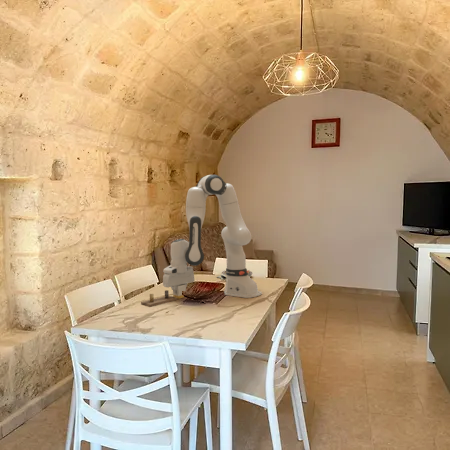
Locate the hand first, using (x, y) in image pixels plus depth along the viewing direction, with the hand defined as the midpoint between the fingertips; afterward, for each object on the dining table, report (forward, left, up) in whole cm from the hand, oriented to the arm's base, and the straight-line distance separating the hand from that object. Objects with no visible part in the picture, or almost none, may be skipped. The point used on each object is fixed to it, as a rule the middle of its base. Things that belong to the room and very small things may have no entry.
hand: (179, 292), depth 226 cm
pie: (+11, -61, -3) cm, 62 cm away
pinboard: (0, +14, -3) cm, 14 cm away
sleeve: (0, 0, -3) cm, 3 cm away
